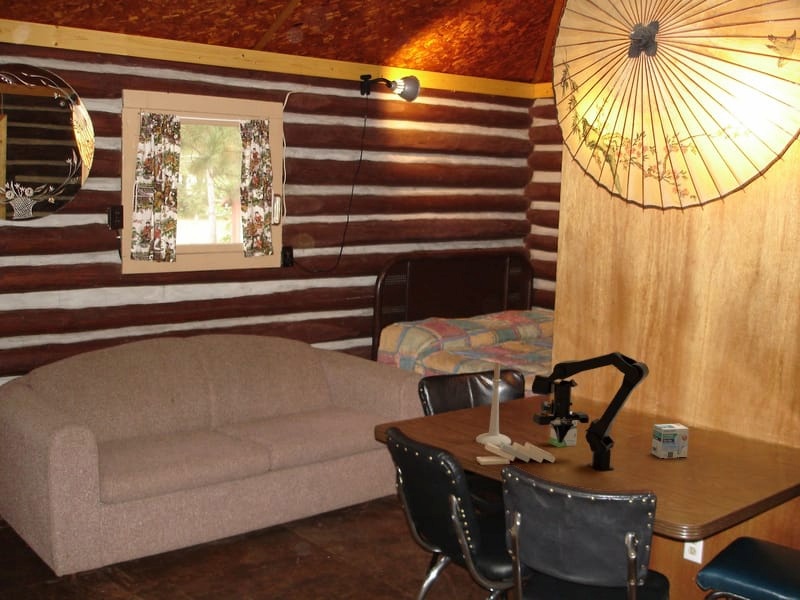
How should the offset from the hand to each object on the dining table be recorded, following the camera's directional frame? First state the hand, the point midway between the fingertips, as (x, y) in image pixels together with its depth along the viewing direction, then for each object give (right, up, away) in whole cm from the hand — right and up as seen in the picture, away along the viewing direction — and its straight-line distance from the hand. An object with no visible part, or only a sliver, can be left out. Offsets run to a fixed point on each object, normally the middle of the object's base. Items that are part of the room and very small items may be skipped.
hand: (559, 442), depth 307 cm
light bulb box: (+41, -7, +11) cm, 43 cm away
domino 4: (-7, -5, -2) cm, 9 cm away
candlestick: (-21, -3, +21) cm, 29 cm away
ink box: (+5, -4, +20) cm, 21 cm away
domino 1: (-16, -5, -3) cm, 17 cm away
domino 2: (-19, -6, -4) cm, 20 cm away
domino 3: (-11, -5, -2) cm, 13 cm away
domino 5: (-3, -5, -1) cm, 6 cm away
